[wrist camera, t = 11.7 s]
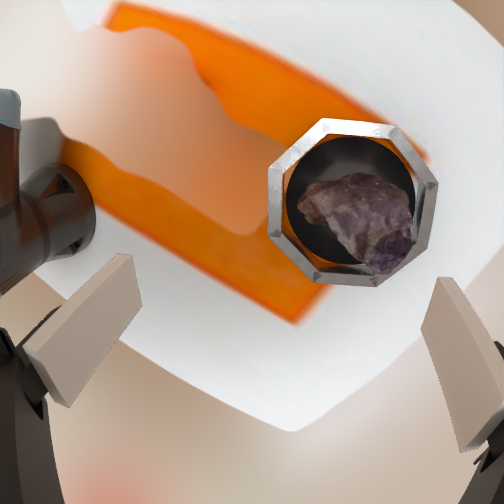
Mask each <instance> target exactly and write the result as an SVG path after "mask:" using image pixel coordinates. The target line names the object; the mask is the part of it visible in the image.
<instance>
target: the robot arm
mask: <svg viewBox="0 0 504 504" xmlns="http://www.w3.org/2000/svg"><path fill="white" fill-rule="evenodd" d="M20 107H21V100H20V97H19V95H18V94H17V93H16V92H15V91H13V90H8V89H0V298H1V297H2V295H4V294H5V293H6V292H7V291H9V290H10V289H11V288H12V287H13V286H15V285H16V284H17V283H19V282H20V281H21V280H22V279H24V278H25V277H26V276H28V275H29V274H30V273H31V272H33V271H34V270H35V269H37V268H38V267H39V266H41V265H42V264H43V263H45V262H48V261H52V260H57V259H62V258H66V257H71V256H73V255H75V254H77V253H78V252H80V251H81V250H82V249H84V248H85V247H86V246H87V245H88V244H89V242H90V241H91V239H92V236H93V233H94V229H95V211H94V206H93V202H92V198H91V195H90V193H89V191H88V189H87V187H86V185H85V183H84V182H83V180H82V179H81V178H80V176H79V175H78V174H77V173H76V172H75V171H74V170H72V169H71V168H69V167H67V166H65V165H62V164H51V165H49V166H46V167H43V168H41V169H39V170H37V171H36V172H35V173H33V174H32V175H31V176H30V177H29V178H28V179H27V180H26V181H25V182H24V183H23V184H22V185H21V186H19V139H20V130H21V125H20ZM141 307H142V302H141V297H140V293H139V288H138V283H137V278H136V273H135V268H134V263H133V258H132V255H128V254H117V255H116V256H115V257H114V258H112V259H111V260H110V261H109V262H108V263H107V264H106V265H105V266H104V267H102V268H101V269H100V270H99V271H98V272H97V273H96V274H95V275H94V276H93V277H91V278H90V279H89V280H88V281H87V282H86V283H85V284H84V285H83V286H82V287H81V288H80V289H79V290H78V291H76V292H75V293H74V294H73V295H72V296H71V297H70V298H69V299H68V300H67V301H66V302H65V303H64V304H63V305H61V306H59V307H57V308H55V309H54V310H52V311H51V312H50V313H49V314H48V315H47V316H46V317H45V318H44V320H42V321H41V322H40V323H39V324H38V326H36V327H35V328H34V329H33V330H32V331H31V332H30V333H29V334H28V335H27V336H26V337H25V338H24V339H23V340H22V341H21V342H20V343H19V344H18V346H16V347H15V346H14V344H13V342H12V340H11V338H10V336H9V334H8V332H7V331H6V330H5V329H4V328H1V327H0V504H65V503H64V499H63V495H62V491H61V487H60V483H59V478H58V474H57V469H56V463H55V458H54V452H53V446H52V440H51V433H50V425H49V416H48V406H47V401H46V399H45V397H44V396H45V394H46V393H47V392H49V394H50V395H51V397H52V398H53V400H54V401H55V402H56V403H59V404H61V405H63V406H65V407H67V408H70V407H71V405H72V404H73V402H74V401H75V399H76V398H77V396H78V395H79V393H80V392H81V391H82V389H83V387H84V386H85V385H86V383H87V382H88V380H89V379H90V377H91V376H92V375H93V373H94V372H95V370H96V369H97V367H98V366H99V365H100V363H101V362H102V360H103V359H104V357H105V356H106V355H107V353H108V352H109V351H110V349H111V348H112V346H113V345H114V344H115V342H116V341H117V340H118V338H119V337H120V335H121V334H122V333H123V331H124V330H125V329H126V327H127V326H128V325H129V323H130V322H131V321H132V319H133V318H134V317H135V315H136V314H137V313H138V311H139V310H140V309H141ZM421 332H422V334H423V337H424V339H425V342H426V344H427V347H428V350H429V352H430V355H431V357H432V361H433V363H434V366H435V369H436V372H437V375H438V378H439V381H440V384H441V387H442V390H443V393H444V396H445V400H446V403H447V406H448V409H449V413H450V416H451V420H452V423H453V427H454V431H455V434H456V438H457V442H458V446H459V451H460V453H462V452H467V451H471V450H475V449H478V448H479V447H480V446H481V445H482V444H483V443H484V442H485V441H486V440H487V441H488V444H489V447H488V448H487V449H486V450H485V451H484V452H483V453H482V454H481V455H480V456H479V457H478V458H477V459H476V460H475V462H474V463H473V464H474V465H475V464H477V463H478V462H479V461H480V460H481V461H480V463H479V465H478V467H477V469H476V471H475V473H474V475H473V477H472V480H471V481H470V483H469V486H468V487H467V489H466V491H465V493H464V495H463V496H462V498H461V500H460V502H459V503H458V504H504V347H503V346H502V345H501V344H500V343H499V342H498V341H493V340H492V339H491V337H490V335H489V333H488V332H487V330H486V328H485V327H484V325H483V323H482V322H481V320H480V318H479V317H478V315H477V314H476V312H475V310H474V309H473V307H472V306H471V304H470V303H469V301H468V300H467V298H466V297H465V295H464V294H463V292H462V291H461V289H460V288H459V286H458V285H457V283H456V282H455V280H454V279H453V278H450V277H438V278H437V281H436V284H435V288H434V291H433V294H432V297H431V300H430V303H429V306H428V309H427V312H426V315H425V318H424V321H423V324H422V326H421Z"/></svg>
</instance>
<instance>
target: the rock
mask: <svg viewBox="0 0 504 504" xmlns="http://www.w3.org/2000/svg"><path fill="white" fill-rule="evenodd" d="M408 205H409V198H408V196H407V193H406V191H404V190H401V189H399V188H398V187H397V186H396V185H393V184H391V183H388V182H387V181H385V180H384V179H382V178H380V177H379V176H376V175H370V174H365V173H354V174H349V175H346V176H343V177H341V178H339V179H337V180H330V181H319V182H315V183H313V184H311V185H309V186H307V190H306V192H305V193H304V194H303V195H302V196H301V197H300V199H299V202H298V206H297V208H298V209H299V210H300V211H301V212H302V213H304V214H305V219H306V220H308V222H310V223H312V224H315V225H316V224H320V223H324V224H327V225H329V226H330V228H331V230H332V231H333V232H334V233H336V235H337V239H338V240H339V242H341V243H342V244H343V245H344V246H345V247H346V249H347V250H348V252H349V253H350V254H351V255H352V256H353V257H354V258H355V259H356V260H358V261H361V262H363V263H364V264H365V265H366V266H368V267H369V268H370V269H371V270H372V271H373V272H375V273H376V274H379V275H387V274H390V273H392V271H393V269H394V268H396V267H397V266H398V265H399V264H400V263H402V261H403V260H404V259H405V258H406V256H407V255H408V253H409V251H410V250H411V249H412V242H411V237H412V234H411V226H412V225H413V220H412V215H411V212H410V208H409V206H408Z"/></svg>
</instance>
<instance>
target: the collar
mask: <svg viewBox="0 0 504 504" xmlns="http://www.w3.org/2000/svg"><path fill="white" fill-rule="evenodd" d="M327 133H335V134H348V135H358V136H368V137H377V138H386V139H387V140H388V141H389V143H390V144H391V145H392V146H393V148H394V149H395V150H396V151H397V153H398V154H399V155H400V156H401V158H402V159H403V160H404V162H405V163H406V164H407V166H408V167H409V168H410V170H411V171H412V172H413V174H414V175H415V177H416V178H417V179H418V181H419V188H418V196H417V203H416V210H415V202H416V201H415V190H414V185H413V182H412V179H411V176H410V174H409V172H408V170H407V168H406V167H405V165H404V164H403V162H402V161H401V160H400V159H399V158H398V156H397V155H395V154H394V153H393V152H392V151H391V150H389V149H388V148H386V147H385V146H383V145H381V144H379V143H377V142H375V141H373V140H369V139H366V138H361V137H339V138H335V139H331V140H328V141H326V142H323V143H321V144H320V145H318V146H316V147H314V148H313V149H312V150H311V151H309V152H308V153H307V154H306V155H305V156H304V157H303V158H302V159H301V160H300V162H299V163H298V164H297V166H296V167H295V169H294V171H293V173H292V175H291V178H290V181H289V184H288V188H287V194H286V209H287V214H288V218H289V222H290V224H291V227H292V229H293V231H294V233H295V234H296V236H297V237H298V239H299V240H300V241H301V242H302V244H303V245H304V246H305V247H307V248H308V249H309V250H310V251H311V252H313V253H314V254H315V255H317V256H319V257H321V258H323V259H325V260H328V261H330V262H334V263H338V264H332V263H319V262H318V261H317V260H316V259H315V258H314V256H313V255H312V254H311V253H310V252H309V251H308V250H307V249H306V248H305V247H304V246H303V245H302V244H301V243H300V242H299V241H298V240H297V239H296V238H295V237H294V235H293V234H292V233H291V232H290V231H289V230H288V229H287V228H286V227H285V226H284V225H283V215H284V172H285V171H286V170H287V169H289V168H290V167H291V166H292V165H293V164H294V163H295V162H296V161H297V160H298V159H300V158H301V157H302V156H303V155H304V154H305V153H306V152H307V151H308V150H310V149H311V148H312V147H313V146H314V145H315V144H316V143H317V142H318V141H320V140H321V139H322V138H323V137H324V136H325V135H326V134H327ZM354 173H365V174H370V175H376V176H379V177H380V178H382V179H384V180H385V181H387V182H388V183H391V184H393V185H396V186H397V187H398V188H399V189H401V190H404V191H406V193H407V196H408V198H409V205H408V206H409V208H410V212H411V215H412V220H413V216H414V212H415V216H414V222H413V228H412V237H411V242H412V249H411V250H410V251H409V253H408V255H407V256H406V258H405V259H404V260H403V261H402V263H400V264H399V265H398V266H397V267H396V268H394V269H393V271H392V273H390V274H387V275H379V274H376V273H375V272H373V271H372V270H371V269H370V268H369V267H368V266H360V265H355V264H363V262H361V261H358V260H356V259H355V258H354V257H353V256H352V255H351V254H350V253H349V252H348V250H347V249H346V247H345V246H344V245H343V244H342V243H341V242H339V240H338V239H337V235H336V233H334V232H333V231H332V230H331V228H330V226H329V225H327V224H324V223H320V224H316V225H315V224H312V223H310V222H308V220H306V219H305V214H304V213H302V212H301V211H300V210H299V209H298V208H297V206H298V202H299V199H300V197H301V196H302V195H303V194H304V193H305V192H306V190H307V186H309V185H311V184H313V183H315V182H319V181H330V180H337V179H339V178H341V177H343V176H346V175H349V174H354ZM437 191H438V182H437V180H436V179H435V177H434V176H433V174H432V173H431V171H430V170H429V168H428V167H427V166H426V164H425V163H424V161H423V160H422V158H421V157H420V156H419V154H418V153H417V152H416V150H415V149H414V148H413V146H412V145H411V144H410V142H409V141H408V140H407V138H406V137H405V136H404V135H403V133H402V132H401V131H400V129H399V128H398V127H397V126H395V125H388V124H380V123H371V122H362V121H352V120H340V119H326V118H321V119H320V120H319V121H318V122H317V123H316V124H315V125H314V126H312V127H311V128H310V129H309V130H308V131H307V132H306V133H305V134H304V135H303V136H301V137H300V138H299V139H298V140H297V141H296V142H295V143H294V144H293V145H292V146H291V147H289V148H288V149H287V150H286V151H285V152H284V153H283V154H282V155H281V156H280V157H279V158H278V159H277V160H276V161H274V162H273V164H271V165H270V166H269V168H268V237H269V238H270V239H271V240H272V241H273V242H274V243H275V245H276V246H277V247H278V248H279V249H280V250H281V251H282V252H283V253H284V254H285V255H286V256H287V257H288V258H289V259H290V260H291V261H292V262H293V263H294V264H295V265H296V266H297V267H298V268H299V269H300V270H301V271H302V272H303V273H304V274H305V275H306V276H307V277H308V278H309V279H310V280H311V281H312V282H313V283H323V284H338V285H352V286H367V287H377V286H378V285H380V284H381V283H383V282H384V281H385V280H387V279H388V278H389V277H391V276H392V275H393V274H395V273H396V272H397V271H399V270H400V269H401V268H403V267H404V266H405V265H407V264H408V263H409V262H411V261H412V260H413V259H415V258H416V257H417V256H418V255H420V254H421V253H422V252H424V251H425V250H426V249H427V247H428V242H429V237H430V232H431V227H432V222H433V216H434V210H435V204H436V197H437Z"/></svg>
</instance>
